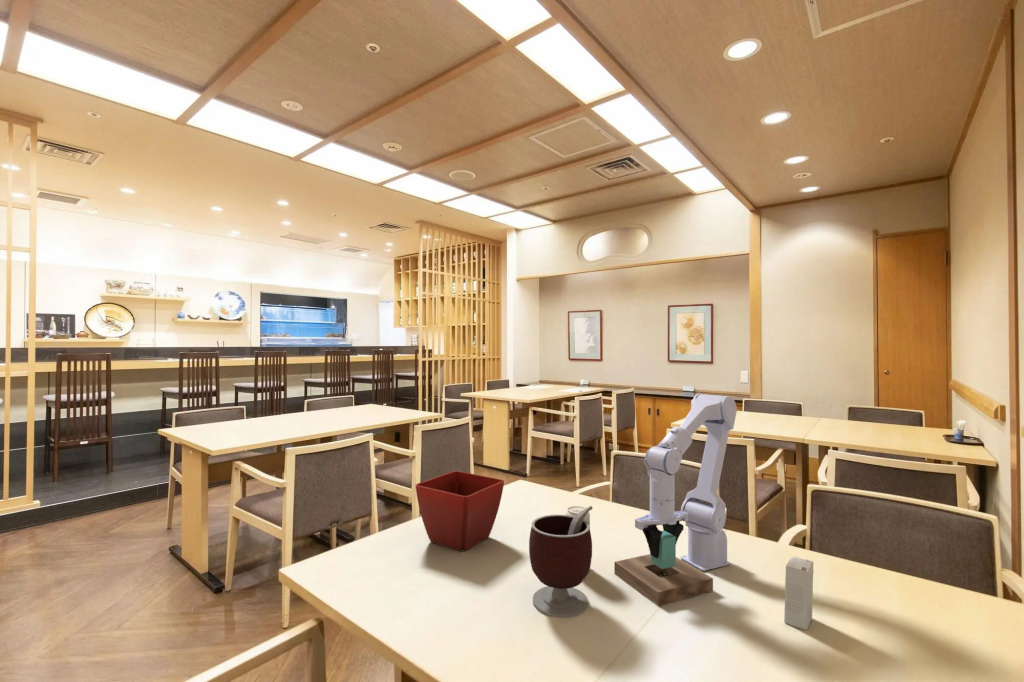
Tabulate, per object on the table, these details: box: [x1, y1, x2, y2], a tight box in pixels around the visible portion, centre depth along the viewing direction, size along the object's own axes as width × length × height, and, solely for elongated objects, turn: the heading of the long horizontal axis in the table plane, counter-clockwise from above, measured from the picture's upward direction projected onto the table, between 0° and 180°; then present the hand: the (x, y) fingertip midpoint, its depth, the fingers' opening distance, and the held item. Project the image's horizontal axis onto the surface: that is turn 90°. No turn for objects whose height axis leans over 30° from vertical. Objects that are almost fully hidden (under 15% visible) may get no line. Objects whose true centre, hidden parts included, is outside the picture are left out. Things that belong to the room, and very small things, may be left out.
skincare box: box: [783, 556, 814, 631], centre depth 99 cm, size 6×4×12 cm
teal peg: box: [651, 530, 677, 569], centre depth 115 cm, size 4×4×7 cm
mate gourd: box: [528, 505, 593, 619], centre depth 106 cm, size 16×14×20 cm
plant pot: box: [415, 470, 505, 552], centre depth 140 cm, size 19×19×17 cm
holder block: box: [613, 554, 714, 607], centre depth 115 cm, size 16×16×3 cm
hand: (661, 554), depth 115 cm, fingers closed on teal peg, 4 cm apart
